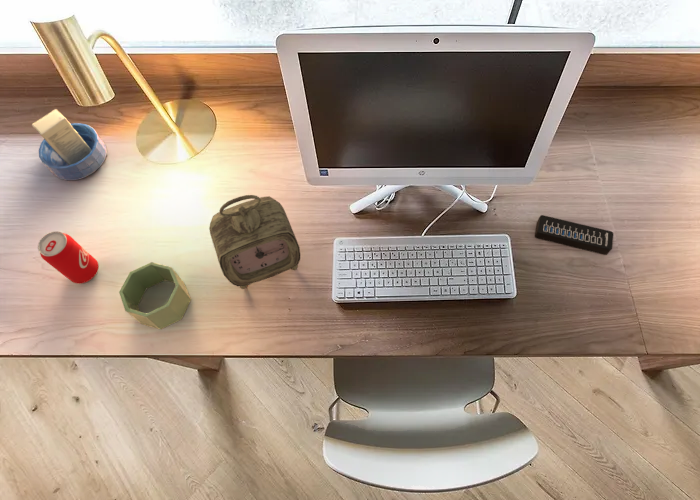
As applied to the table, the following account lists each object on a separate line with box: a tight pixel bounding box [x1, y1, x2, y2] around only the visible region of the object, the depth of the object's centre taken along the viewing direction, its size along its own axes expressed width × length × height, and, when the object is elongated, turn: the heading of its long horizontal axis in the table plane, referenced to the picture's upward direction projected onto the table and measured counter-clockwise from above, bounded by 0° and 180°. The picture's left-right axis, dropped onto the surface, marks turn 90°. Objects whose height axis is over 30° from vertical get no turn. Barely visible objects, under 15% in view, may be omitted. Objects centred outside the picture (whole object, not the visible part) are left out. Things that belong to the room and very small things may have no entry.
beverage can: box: [37, 231, 100, 285], centre depth 97 cm, size 6×6×12 cm
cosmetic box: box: [31, 108, 91, 165], centre depth 111 cm, size 6×4×12 cm
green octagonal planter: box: [118, 261, 192, 330], centre depth 95 cm, size 10×10×7 cm
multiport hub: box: [534, 214, 614, 256], centre depth 100 cm, size 4×14×2 cm, turn 72°
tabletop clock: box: [208, 194, 301, 290], centre depth 90 cm, size 14×9×25 cm, turn 112°
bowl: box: [38, 122, 108, 181], centre depth 114 cm, size 13×13×5 cm
